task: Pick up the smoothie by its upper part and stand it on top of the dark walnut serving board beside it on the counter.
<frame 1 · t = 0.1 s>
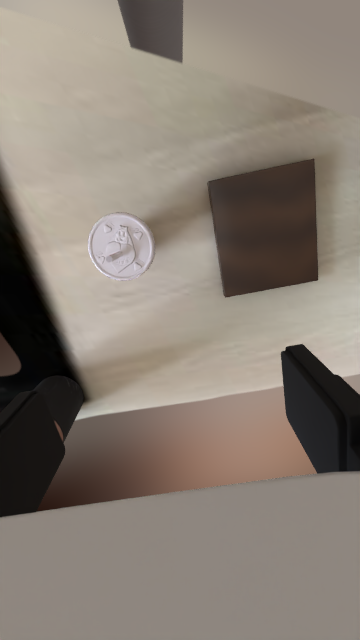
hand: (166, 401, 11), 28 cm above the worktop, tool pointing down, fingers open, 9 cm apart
smoothie: (136, 241, 36), on the worktop
walnut board: (263, 233, 35), on the worktop
travel mug: (61, 394, 43), on the worktop
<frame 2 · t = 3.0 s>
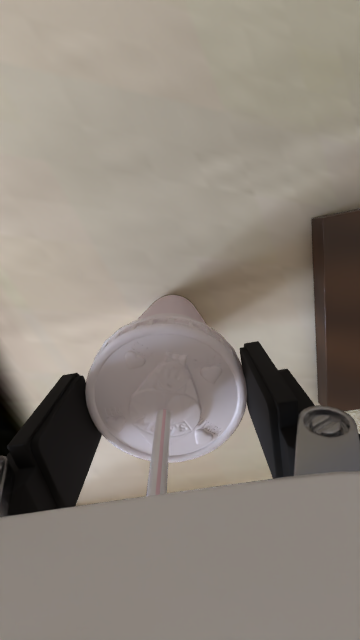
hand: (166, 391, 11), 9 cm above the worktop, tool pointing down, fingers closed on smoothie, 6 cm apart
smoothie: (172, 319, 20), on the worktop, touching gripper
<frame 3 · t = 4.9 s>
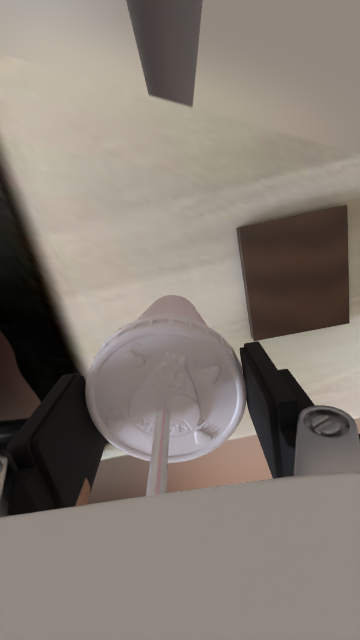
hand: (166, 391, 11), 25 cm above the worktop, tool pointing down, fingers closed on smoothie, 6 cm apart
smoothie: (172, 319, 20), point 15 cm above the worktop, touching gripper
walnut board: (292, 276, 34), on the worktop
travel mug: (83, 435, 42), on the worktop
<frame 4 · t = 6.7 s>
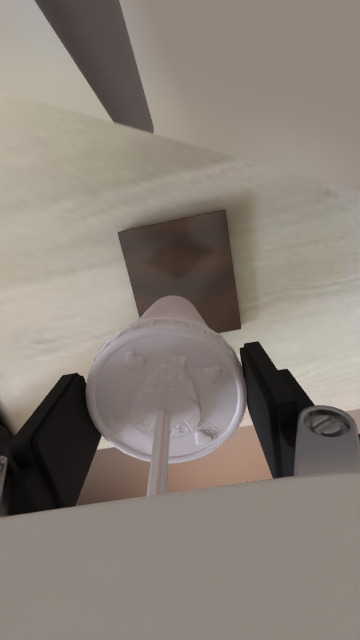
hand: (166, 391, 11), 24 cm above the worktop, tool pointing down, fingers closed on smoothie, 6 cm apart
smoothie: (172, 319, 20), point 15 cm above the worktop, touching gripper
walnut board: (182, 280, 34), on the worktop
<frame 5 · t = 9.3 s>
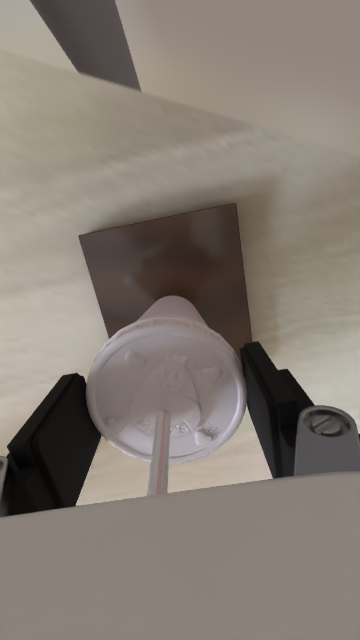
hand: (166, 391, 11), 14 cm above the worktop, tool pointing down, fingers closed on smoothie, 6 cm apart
smoothie: (172, 319, 20), point 4 cm above the worktop, touching gripper
walnut board: (174, 303, 24), on the worktop
when the fingers open (11 cm above the worktop, at t = 10.8 s): smoothie stays where it is, resting on walnut board.
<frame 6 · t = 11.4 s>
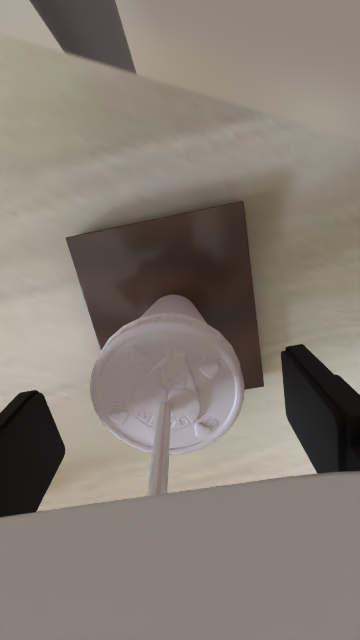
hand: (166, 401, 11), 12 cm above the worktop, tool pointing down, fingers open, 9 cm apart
smoothie: (173, 318, 21), point 1 cm above the worktop, touching walnut board
walnut board: (174, 312, 22), on the worktop, touching smoothie
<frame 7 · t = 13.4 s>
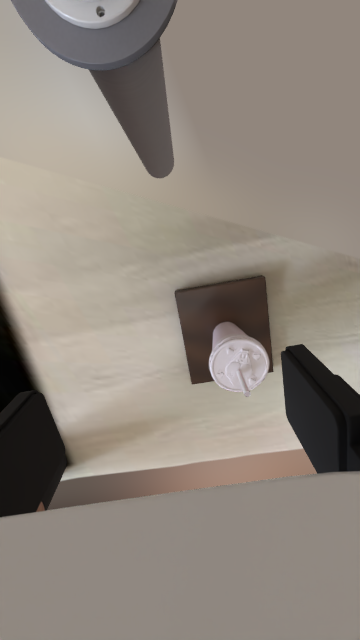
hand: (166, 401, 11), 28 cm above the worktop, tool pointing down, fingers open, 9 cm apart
smoothie: (226, 333, 39), point 1 cm above the worktop, touching walnut board
walnut board: (224, 330, 40), on the worktop, touching smoothie
travel mug: (46, 459, 47), on the worktop
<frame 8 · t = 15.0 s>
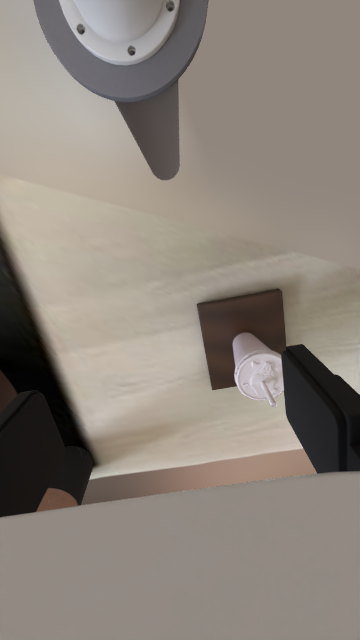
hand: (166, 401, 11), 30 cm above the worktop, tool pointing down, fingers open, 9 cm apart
smoothie: (244, 343, 41), point 1 cm above the worktop, touching walnut board
walnut board: (242, 339, 43), on the worktop, touching smoothie
travel mug: (74, 460, 51), on the worktop
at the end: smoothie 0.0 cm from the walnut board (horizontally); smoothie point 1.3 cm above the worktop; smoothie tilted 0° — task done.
